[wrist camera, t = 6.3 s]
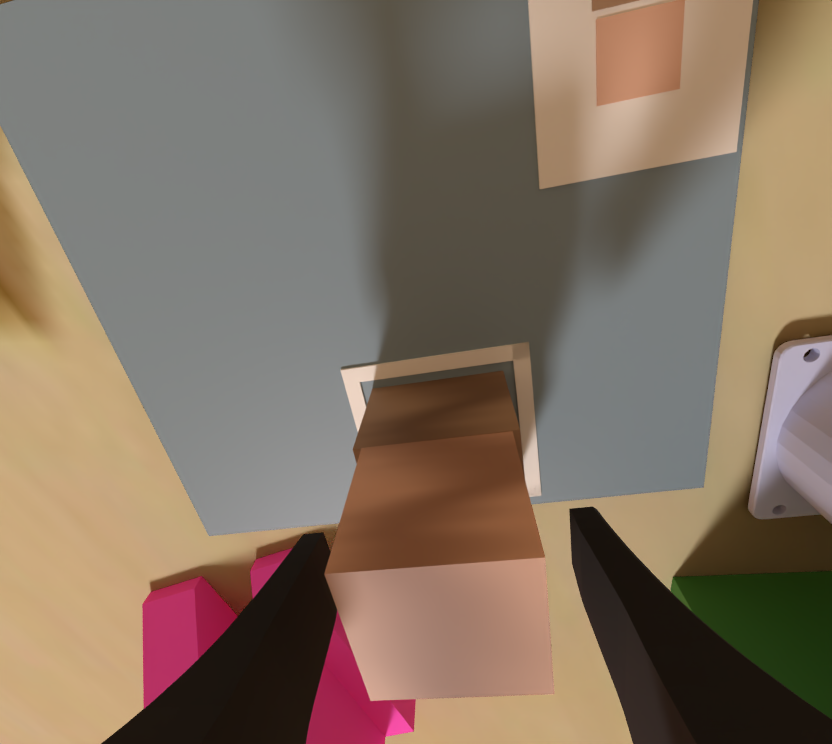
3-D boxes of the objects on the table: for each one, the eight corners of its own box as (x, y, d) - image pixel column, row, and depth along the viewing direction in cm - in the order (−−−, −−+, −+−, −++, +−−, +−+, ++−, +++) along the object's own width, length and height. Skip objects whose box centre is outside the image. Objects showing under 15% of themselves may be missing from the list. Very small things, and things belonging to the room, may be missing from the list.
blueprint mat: (768, -206, 10) (789, -230, 9) (697, 479, 18) (705, 490, 18) (-36, 24, 13) (-60, 17, 12) (213, 528, 21) (207, 538, 21)
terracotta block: (512, 430, 13) (544, 557, 8) (523, 545, 14) (554, 693, 10) (361, 447, 13) (324, 574, 9) (390, 555, 15) (370, 700, 11)
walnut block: (502, 370, 16) (520, 429, 13) (514, 477, 18) (532, 554, 15) (372, 388, 17) (352, 449, 13) (397, 490, 19) (386, 567, 15)
